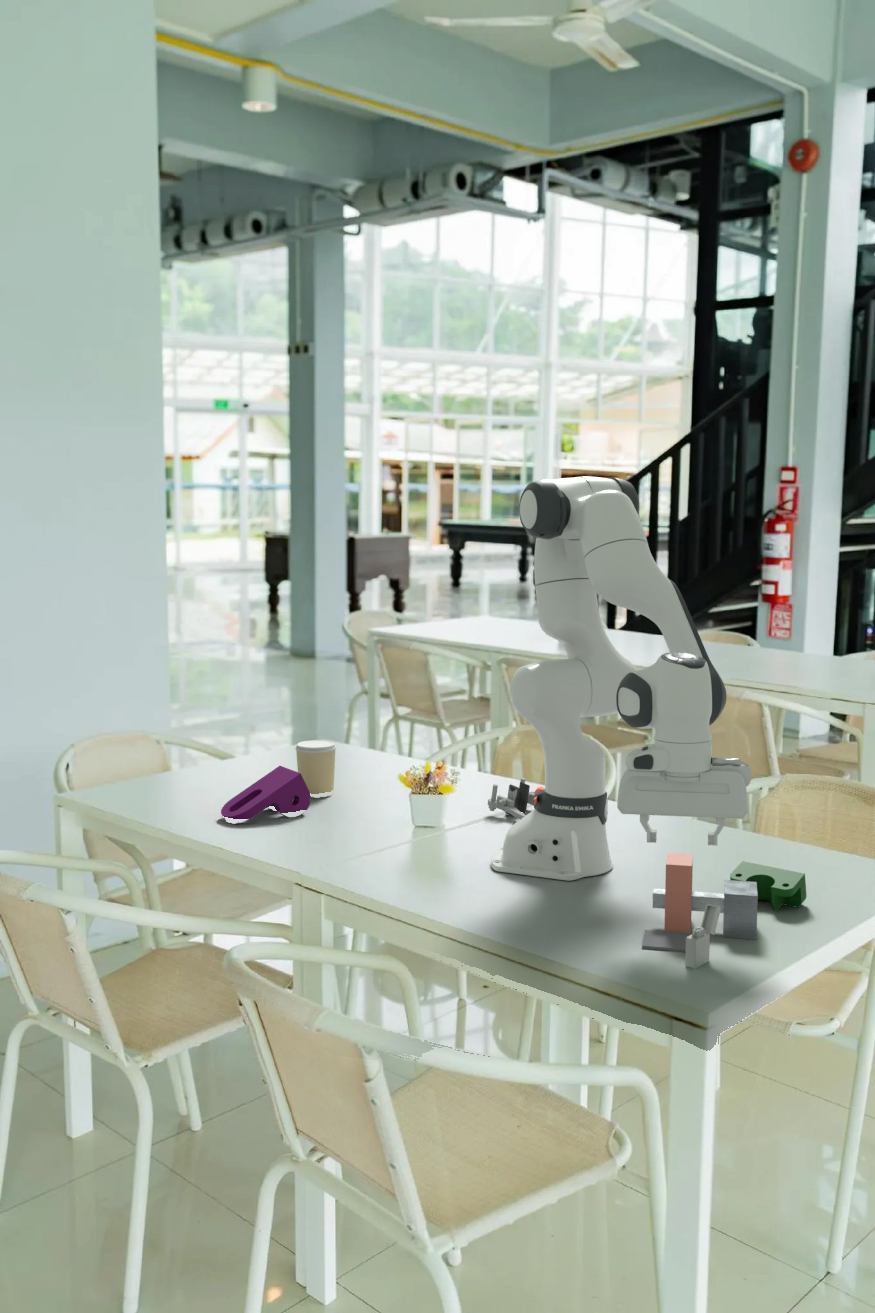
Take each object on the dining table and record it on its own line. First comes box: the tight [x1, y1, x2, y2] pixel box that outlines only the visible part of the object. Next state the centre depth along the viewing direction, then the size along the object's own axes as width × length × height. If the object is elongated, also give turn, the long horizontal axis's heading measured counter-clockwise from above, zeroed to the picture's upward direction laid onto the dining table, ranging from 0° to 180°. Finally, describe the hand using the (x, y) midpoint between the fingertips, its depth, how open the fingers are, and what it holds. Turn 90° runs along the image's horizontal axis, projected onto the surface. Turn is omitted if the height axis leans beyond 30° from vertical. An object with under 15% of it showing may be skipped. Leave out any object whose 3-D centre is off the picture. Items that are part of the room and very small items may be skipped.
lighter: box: [684, 904, 721, 969], centre depth 175 cm, size 7×2×8 cm, turn 137°
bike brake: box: [487, 777, 535, 820], centre depth 255 cm, size 14×7×20 cm
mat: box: [641, 929, 691, 953], centre depth 183 cm, size 7×7×1 cm
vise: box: [652, 879, 759, 941], centre depth 189 cm, size 16×7×7 cm, turn 77°
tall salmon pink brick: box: [663, 852, 694, 934], centre depth 189 cm, size 4×6×11 cm, turn 167°
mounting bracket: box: [220, 765, 312, 820], centre depth 258 cm, size 9×8×18 cm
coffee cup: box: [295, 739, 337, 794], centre depth 276 cm, size 9×9×12 cm
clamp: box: [729, 860, 807, 912], centre depth 200 cm, size 12×6×9 cm, turn 44°
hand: (681, 843), depth 188 cm, fingers open, 8 cm apart
